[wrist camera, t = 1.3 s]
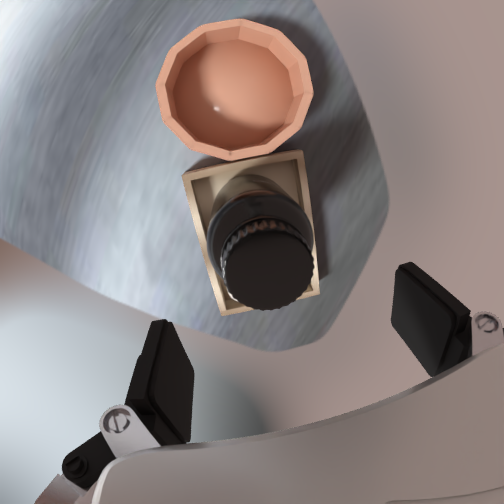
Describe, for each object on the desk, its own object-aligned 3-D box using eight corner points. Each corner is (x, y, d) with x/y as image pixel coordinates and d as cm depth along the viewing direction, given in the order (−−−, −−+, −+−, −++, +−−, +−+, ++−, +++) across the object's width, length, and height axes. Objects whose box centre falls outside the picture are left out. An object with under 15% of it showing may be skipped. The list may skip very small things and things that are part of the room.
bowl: (158, 53, 18) (147, 39, 14) (283, 30, 18) (294, 14, 15) (182, 168, 23) (175, 174, 19) (307, 143, 23) (322, 145, 19)
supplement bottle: (279, 165, 23) (328, 192, 12) (292, 235, 26) (339, 308, 15) (202, 183, 23) (184, 227, 12) (222, 253, 26) (223, 338, 15)
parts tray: (184, 172, 23) (181, 175, 21) (296, 149, 23) (302, 150, 21) (221, 304, 29) (221, 316, 27) (313, 284, 29) (319, 294, 27)
